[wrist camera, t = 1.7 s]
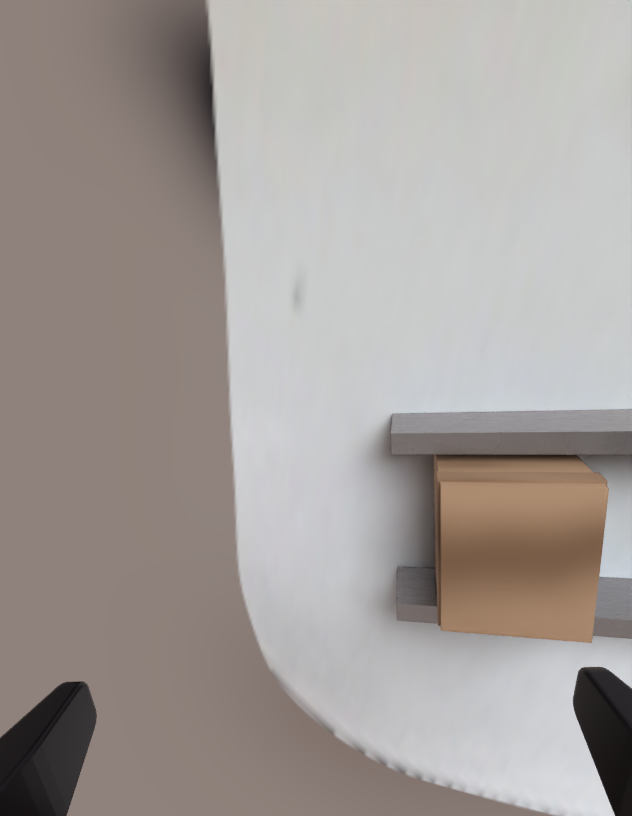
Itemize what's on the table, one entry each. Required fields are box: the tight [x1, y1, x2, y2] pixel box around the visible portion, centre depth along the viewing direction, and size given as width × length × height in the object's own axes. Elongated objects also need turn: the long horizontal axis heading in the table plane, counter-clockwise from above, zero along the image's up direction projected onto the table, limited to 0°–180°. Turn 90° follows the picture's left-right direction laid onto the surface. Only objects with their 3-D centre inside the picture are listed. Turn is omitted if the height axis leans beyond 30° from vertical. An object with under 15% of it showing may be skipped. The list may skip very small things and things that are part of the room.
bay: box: [391, 409, 632, 639], centre depth 20 cm, size 10×20×3 cm, turn 94°
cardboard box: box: [434, 454, 609, 643], centre depth 20 cm, size 7×6×5 cm
